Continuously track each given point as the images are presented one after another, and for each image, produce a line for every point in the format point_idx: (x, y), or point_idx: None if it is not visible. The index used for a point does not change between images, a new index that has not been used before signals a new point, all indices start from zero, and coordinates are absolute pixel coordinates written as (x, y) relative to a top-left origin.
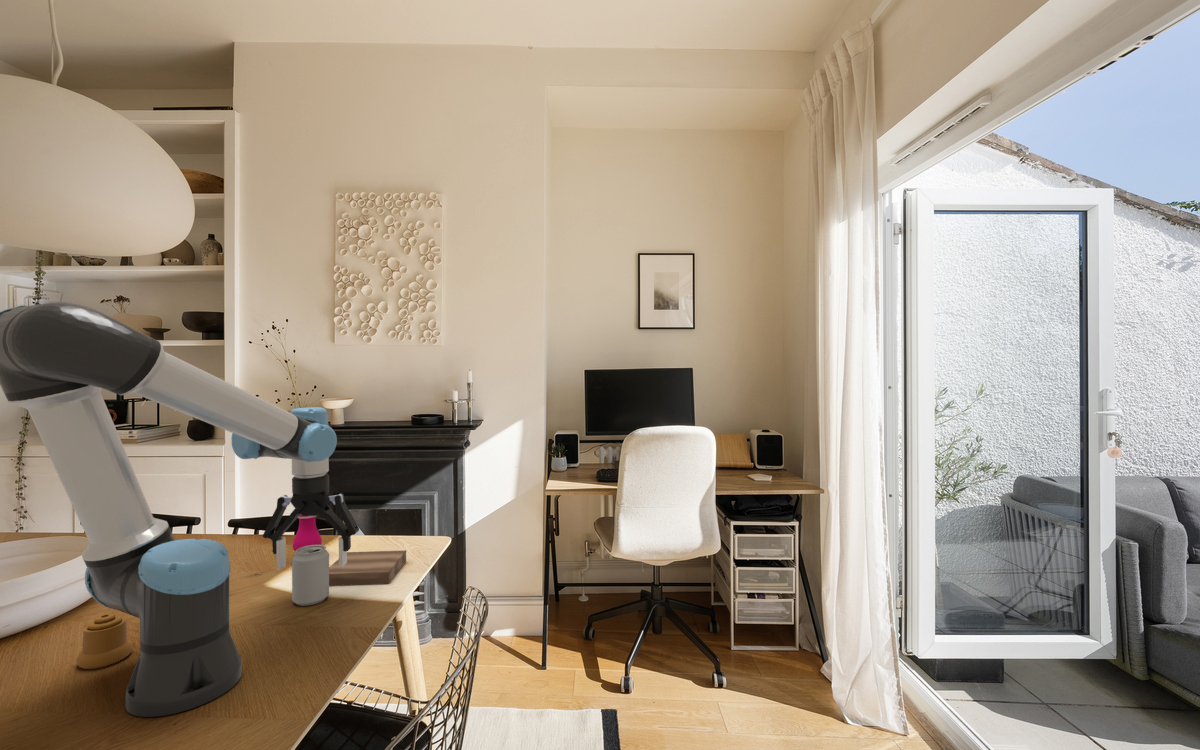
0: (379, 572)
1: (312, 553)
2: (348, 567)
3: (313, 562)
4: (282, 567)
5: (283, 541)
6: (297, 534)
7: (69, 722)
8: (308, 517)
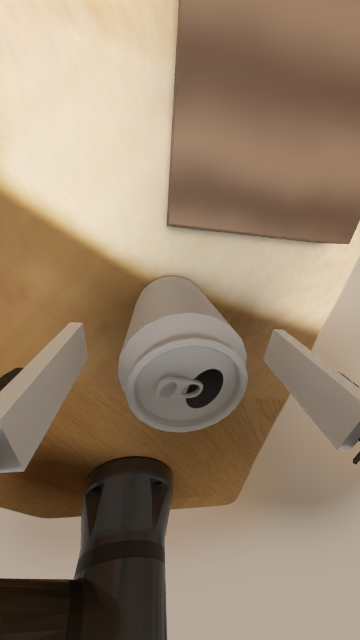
0: (326, 240)
1: (208, 423)
2: (242, 167)
3: (206, 403)
4: (86, 347)
5: (23, 423)
6: None
7: (68, 507)
8: None
